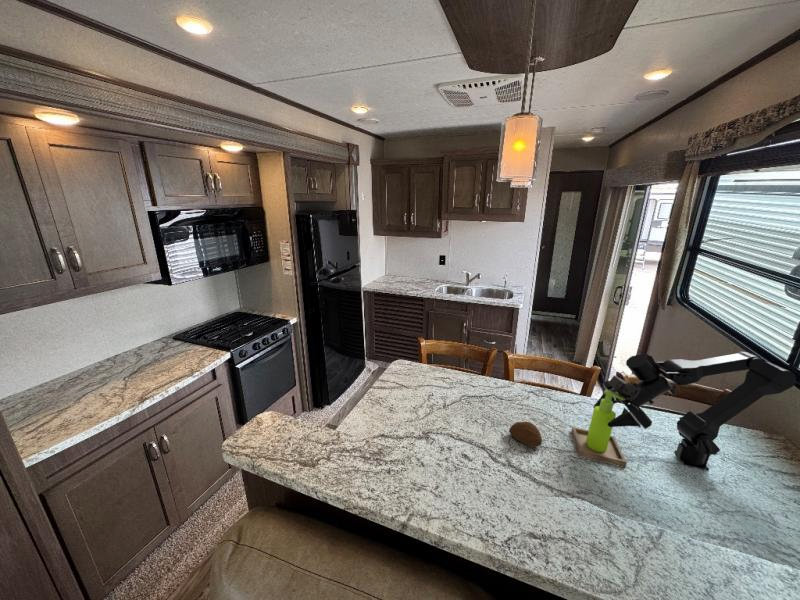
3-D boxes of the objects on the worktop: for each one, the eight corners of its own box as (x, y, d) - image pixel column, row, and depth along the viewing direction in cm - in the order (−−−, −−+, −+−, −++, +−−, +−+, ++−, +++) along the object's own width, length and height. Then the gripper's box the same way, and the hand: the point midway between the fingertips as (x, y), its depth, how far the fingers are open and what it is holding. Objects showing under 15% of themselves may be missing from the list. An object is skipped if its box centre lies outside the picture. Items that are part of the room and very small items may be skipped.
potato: (512, 429, 110) (515, 411, 109) (543, 442, 104) (547, 424, 103) (505, 439, 105) (508, 421, 103) (538, 454, 99) (542, 435, 97)
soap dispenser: (607, 457, 98) (623, 400, 93) (583, 445, 103) (596, 391, 98) (611, 448, 102) (626, 393, 97) (588, 437, 107) (601, 385, 102)
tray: (612, 441, 107) (614, 436, 106) (625, 467, 95) (626, 462, 95) (571, 431, 111) (572, 426, 110) (578, 455, 99) (579, 450, 99)
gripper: (615, 358, 104) (573, 384, 108) (651, 386, 86) (600, 416, 90) (634, 382, 106) (593, 406, 109) (674, 415, 88) (622, 443, 92)
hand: (600, 416), depth 100 cm, fingers open, 9 cm apart
